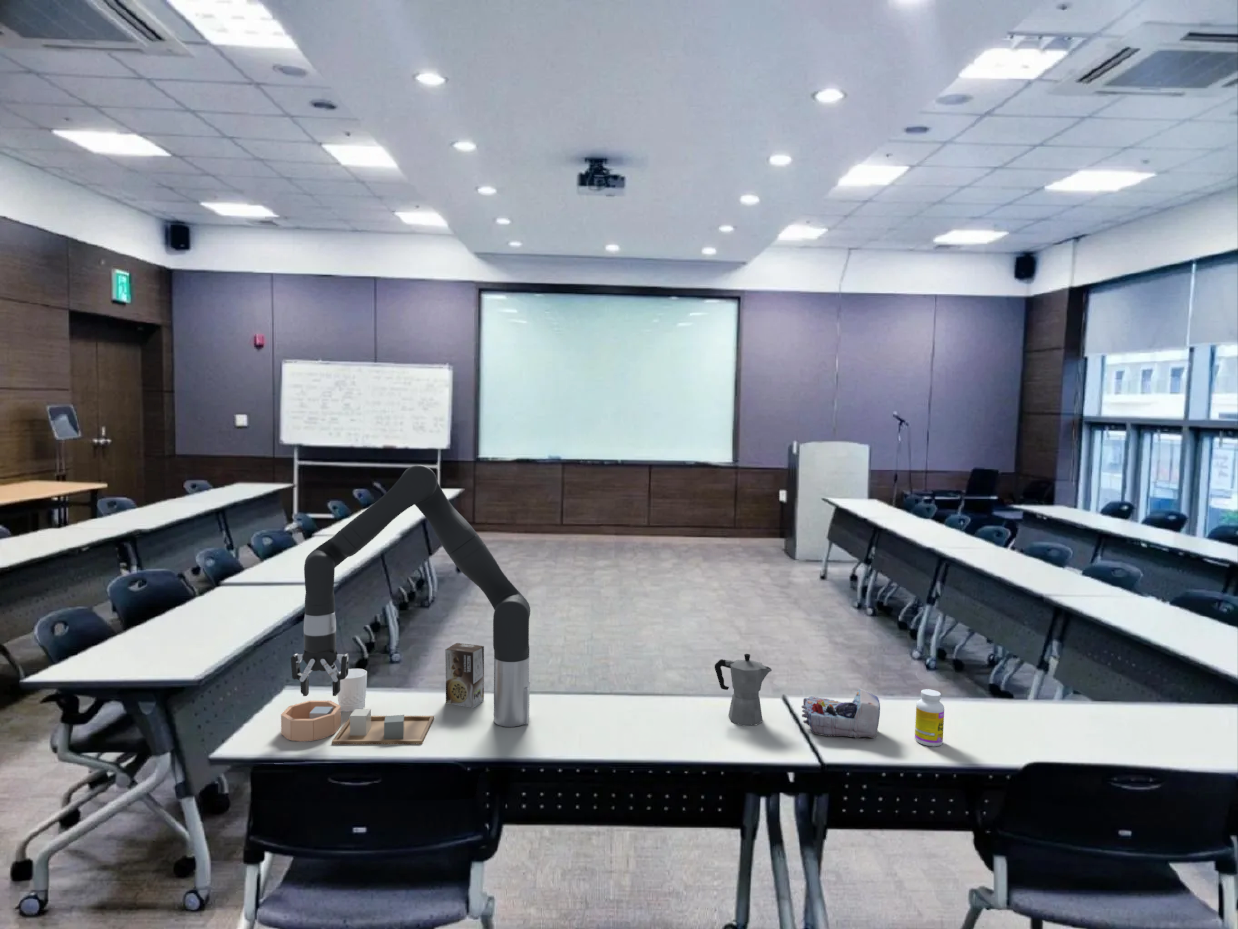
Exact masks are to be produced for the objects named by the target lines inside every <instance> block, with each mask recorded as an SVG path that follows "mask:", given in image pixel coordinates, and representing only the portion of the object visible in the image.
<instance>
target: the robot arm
mask: <svg viewBox="0 0 1238 929" xmlns="http://www.w3.org/2000/svg"><path fill="white" fill-rule="evenodd" d="M414 505H415V506H416V508H417V509H418V510H419V512H421V513H422V515H423V516H424V517H425V518H426V520H427V522H428V523H429V524H430V526H431V528H432V529H433V532H434V534H435V536H436V537H437V540H438V541H439V542H440V544H441V546H442V547H443V549H444V551H445V552H446V554H447V555H448V557H449V558H450V559H451V560H452V562H453V564H454V565H455V566H456V567H457V568H458V570H459V571H460V572H461V573H462V574H463V575H464V576H465V577H466V578H468V579H469V580H470V581H471V582H472V583H473V584H475V585H476V586H478V587H479V589H480V590H481V592H483V594H484V595H485V597H486V598H487V600H488V602H489V604H491V606H492V608H493V610H494V611H493V617H492V620H493V621H492V622H493V623H492V640H493V642H492V645H493V654H494V655H493V656H494V657H493V722H494V724H495V725H497V726H500V727H506V728H507V727H510V728H511V727H519V726H522V725H528V724H529V718H530V690H531V688H530V686H531V685H530V684H531V682H530V643H529V642H530V616H531V606H530V603H529V601H528V600H527V599H526V597H525V596H524V595H523V594H522V593H521V592H520V591H519V589H517V588H516V586H515V585H514V583H512V582H511V581H510V579H508V577H507V576H506V575H505V573H504V571H503V570H502V569H501V567H500V565H499V564H498V563H497V560H496V559H495V557H494V556H493V555H492V553H491V551H490V550H489V548H488V547H487V545H486V544H485V542H484V541H483V540H482V538H481V537H480V535H479V534H478V533H477V531H476V530H475V529H474V528H473V526H472V525H471V524H470V523H469V522H468V520H467V519H466V518H464V517H463V515H462V514H460V513H459V512H458V510H457V509H456V508H455V507H454V506H453V505H452V503H451V502H450V500H449V499H448V498H447V496H446V494H445V492H444V491H443V489H442V486H441V485H440V484H439V482H438V478H437V475H436V473H435V472H434V471H433V469H431V468H430V467H428V466H426V465H422V464H415V465H412V466H409V467H408V468H406V469H405V471H404V472H403V473H402V474H401V476H400V477H399V478H398V480H397V481H396V482H394V484H393V485H392V486H391V488H390V489H389V490H387V492H386V493H384V494H383V496H381V497H380V498H379V499H378V500H376V501H375V503H372V505H370V506H369V507H368V508H366V509H365V510H364V511H363V512H361V513H360V514H358V515H357V516H356V517H354V518H353V519H352V520H351V521H349V522H348V523H347V524H346V525H344V526H343V527H342V528H340V530H338V531H337V532H336V533H335V534H334V535H333V536H332V537H330V538H329V539H327V540H326V541H325V542H322V544H321V543H320V545H319V546H317V547H316V548H315V549H313V550H312V551H311V552H310V553H309V554H308V555H307V556H306V558H305V560H304V565H303V567H304V568H303V571H304V572H303V573H304V588H305V589H304V590H305V594H304V596H305V597H304V618H303V627H302V628H303V649H304V650H303V653H301V654H299V653H298V652H296V653H294V654H293V655H292V656H291V657H290V666H291V675H292V676H291V677H292V679H293V680H294V681H295V680H298V681H299V682H300V693H301V695H302V697H307V696H308V695H309V693H310V686H309V685H310V683H309V682H310V681H309V679H310V678H309V676H310V674H311V673H312V672H317V671H321V672H327V674H328V675H329V677H331V679H332V697H337V696H338V695H337V694H338V693H339V692H340V680H342V679H345V678H346V677H347V675H348V669H350V668H349V666H350V654H349V653H347V652H346V653H345V654H341V653H338V651H337V619H336V618H337V617H336V599H335V592H334V589H335V587H334V586H335V568H336V567H338V566H339V565H340V564H342V562H343V561H345V560H346V559H347V558H350V557H353V556H355V555H356V554H357V553H358V552H359V551H361V550H362V549H363V548H364V547H366V546H367V545H368V544H369V543H370V542H371V541H373V540H374V539H375V538H376V537H377V536H378V535H379V534H381V533H382V532H383V530H384V529H386V528H387V527H388V526H389V525H390V524H391V522H393V520H395V519H396V518H397V517H398V516H400V515H401V514H403V512H405V511H406V510H408V509H410V508H411V507H413V506H414ZM302 660H303V661H304V663H305V664H306V667H305V668H304V670H303V672H302V673H301V671H302V670H301V663H302ZM337 660H338V662H339V664H340V671H341V674H340V673H339V672H340V671H339V670H338V667H337V666H336V664H335V662H336V661H337ZM308 678H309V679H308Z"/></svg>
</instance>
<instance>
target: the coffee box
mask: <svg viewBox="0 0 1238 929" xmlns="http://www.w3.org/2000/svg"><path fill="white" fill-rule="evenodd" d="M444 652H445V655H444V656H445V704H448V705H453V706H454V705H455V706H460V707H461V706H462V707H468V708H475V707H477V706H478V705H480V704H481V703H483V702H484V701H485V646H484V645H477V644H471V643H470V644H468V643H460V642H456V643H454V644H452V645H450V646H449V647H447V648H446V649H445V650H444Z"/></svg>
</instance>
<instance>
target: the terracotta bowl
mask: <svg viewBox="0 0 1238 929" xmlns="http://www.w3.org/2000/svg"><path fill="white" fill-rule="evenodd" d="M315 707H333V711H332V713H331V714H328V715H324V716H321V717H318V718H314V719H310V715H309V713H310V712H311V711H312V710H313V709H314V708H315ZM341 726H342V711H341V706H340V705H339V703H337V702H336V703H335V701H332V700H307V701H303V702H300V703H295V704H292V705H289V706H288V707H287V708H286V709H285V710H284V711H282V712H281V714H280V732H281V733H280V734H281V735H282V736H283V737H284V738H285V739H286V740H289V741H291V742H311V741H318V740H322V739H325V738H328V737H331V736H333V735H335V734H336V732H339V730H340V729H339V728H340V727H341Z"/></svg>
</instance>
